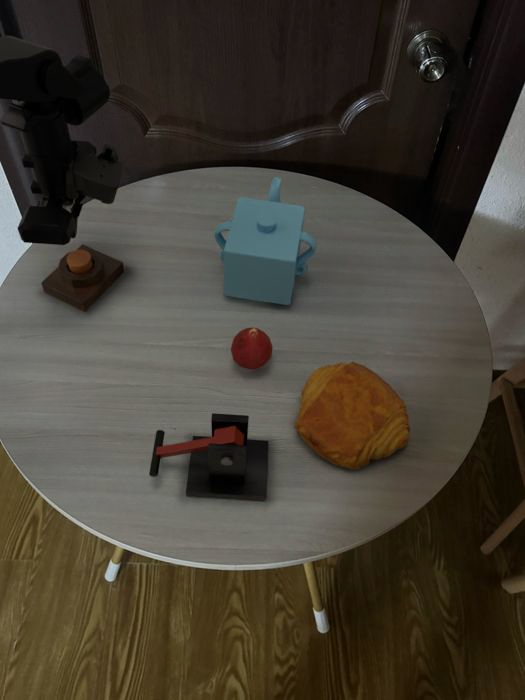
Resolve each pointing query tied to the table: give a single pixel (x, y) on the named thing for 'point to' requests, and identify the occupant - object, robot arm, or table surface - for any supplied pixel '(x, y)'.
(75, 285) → the button block
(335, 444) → the croissant
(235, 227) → the teapot
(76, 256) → the button
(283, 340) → the table surface
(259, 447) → the bracket
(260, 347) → the onion
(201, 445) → the lever
